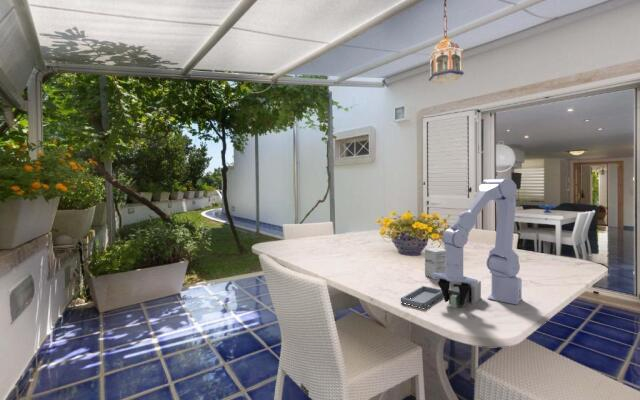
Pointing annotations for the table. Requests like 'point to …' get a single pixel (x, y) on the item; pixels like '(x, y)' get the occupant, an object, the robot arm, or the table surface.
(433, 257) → the supplement box
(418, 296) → the tray
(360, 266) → the table surface
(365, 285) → the table surface
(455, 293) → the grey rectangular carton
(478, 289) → the sleeve
